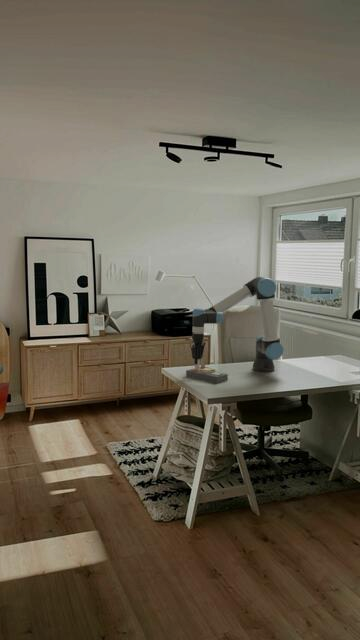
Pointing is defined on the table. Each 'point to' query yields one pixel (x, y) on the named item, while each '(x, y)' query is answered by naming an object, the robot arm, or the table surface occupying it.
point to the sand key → (206, 370)
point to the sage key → (216, 374)
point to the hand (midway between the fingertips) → (197, 368)
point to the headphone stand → (204, 357)
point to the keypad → (207, 376)
